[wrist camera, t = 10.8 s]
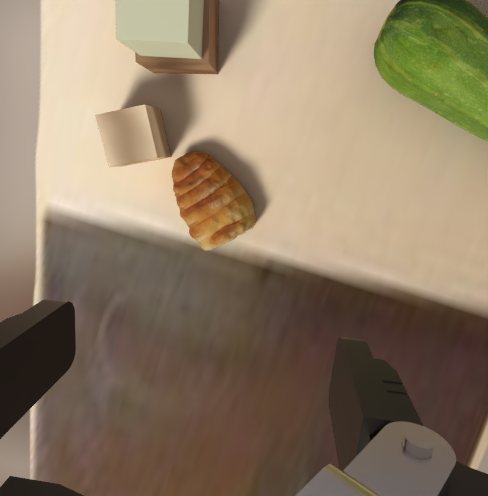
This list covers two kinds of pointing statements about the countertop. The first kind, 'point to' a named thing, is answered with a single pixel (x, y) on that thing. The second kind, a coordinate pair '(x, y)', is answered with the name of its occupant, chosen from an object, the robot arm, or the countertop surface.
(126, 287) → the countertop surface
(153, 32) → the sage cube
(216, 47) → the walnut block
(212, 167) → the pastry
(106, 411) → the countertop surface
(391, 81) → the vegetable
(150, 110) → the birch block
